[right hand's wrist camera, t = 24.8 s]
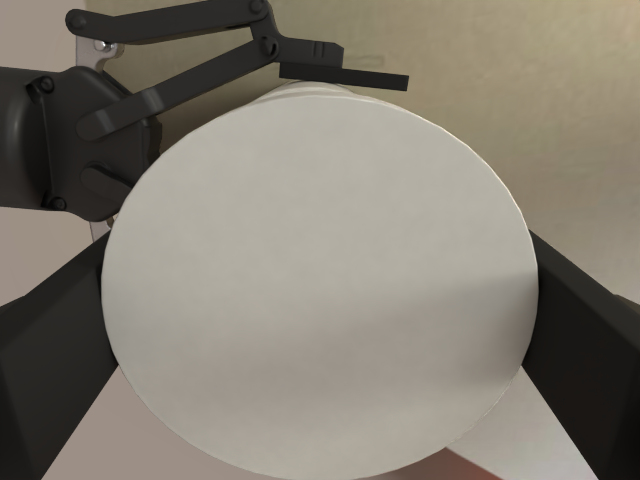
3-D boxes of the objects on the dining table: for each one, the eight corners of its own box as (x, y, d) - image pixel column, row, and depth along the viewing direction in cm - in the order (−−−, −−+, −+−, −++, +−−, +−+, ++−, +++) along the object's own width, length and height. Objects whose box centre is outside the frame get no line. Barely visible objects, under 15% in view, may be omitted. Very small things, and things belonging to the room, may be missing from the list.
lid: (151, 41, 10) (117, 36, 8) (571, 147, 11) (618, 162, 9) (117, 398, 13) (88, 445, 12) (436, 457, 14) (452, 509, 12)
